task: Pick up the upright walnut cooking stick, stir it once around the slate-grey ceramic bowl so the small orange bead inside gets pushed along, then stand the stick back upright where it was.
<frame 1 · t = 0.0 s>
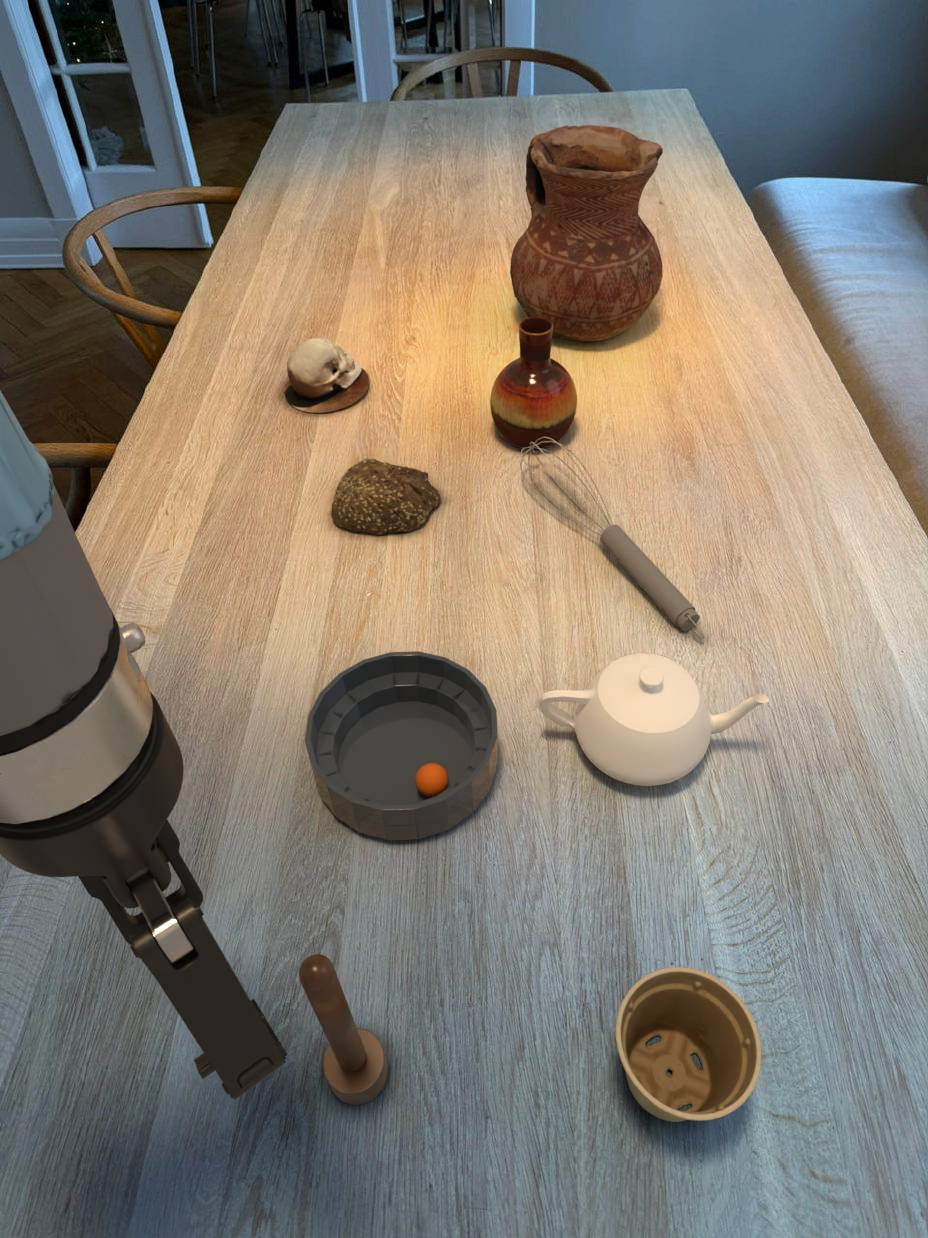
hand: (201, 959, 48), 23 cm above the table, tool pointing down, fingers open, 13 cm apart
bead: (431, 780, 79), point 2 cm above the table, touching bowl
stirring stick: (358, 1072, 65), on the table
skull: (327, 390, 125), on the table
bowl: (406, 761, 83), on the table
kitchen whisk: (607, 545, 102), on the table
flower pot: (669, 1076, 64), on the table
bread roll: (387, 504, 108), on the table
vase: (532, 433, 116), on the table
jug: (581, 321, 135), on the table
teapot: (643, 743, 84), on the table
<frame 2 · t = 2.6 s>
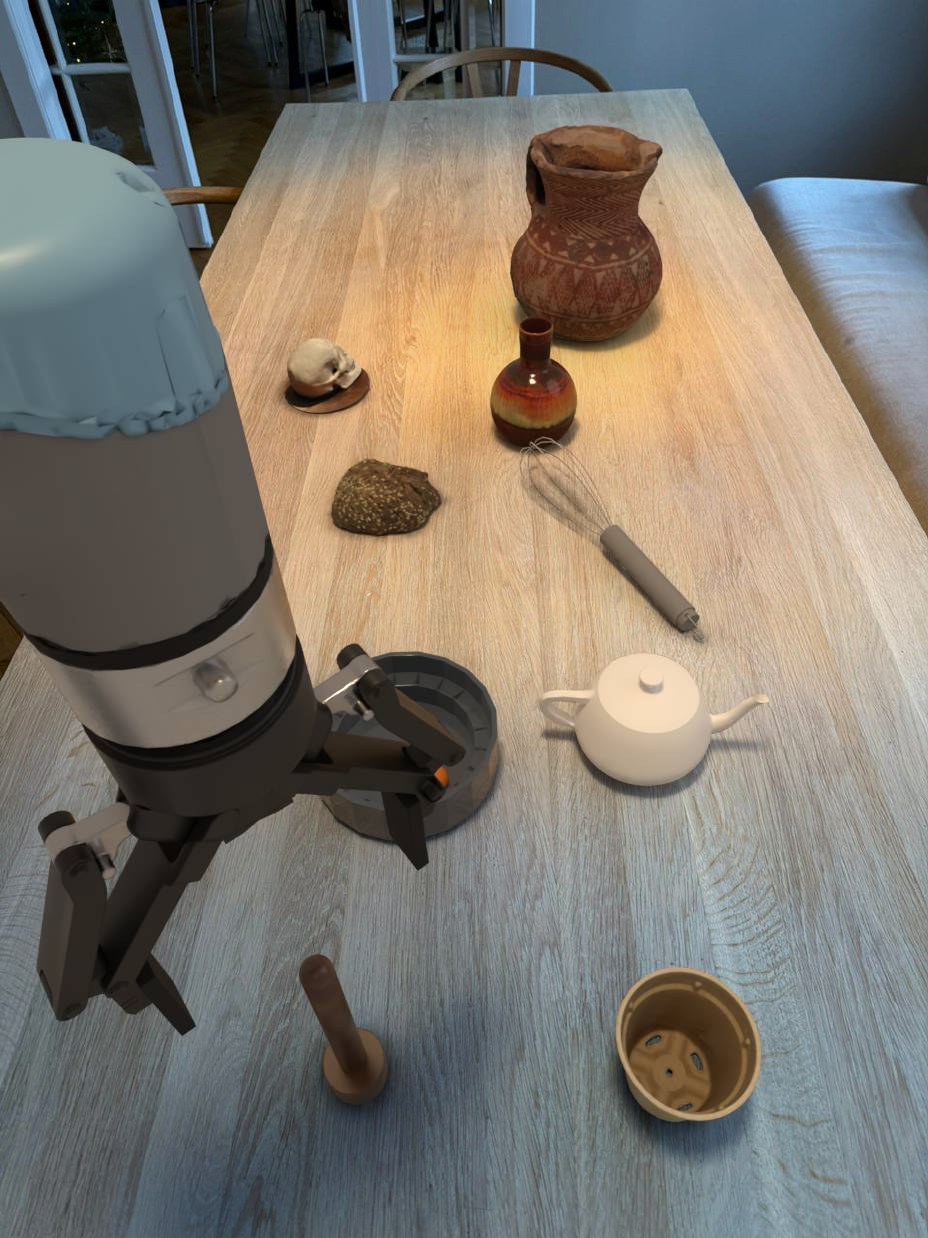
hand: (300, 924, 45), 27 cm above the table, tool pointing down, fingers open, 13 cm apart
nothing on the table moved.
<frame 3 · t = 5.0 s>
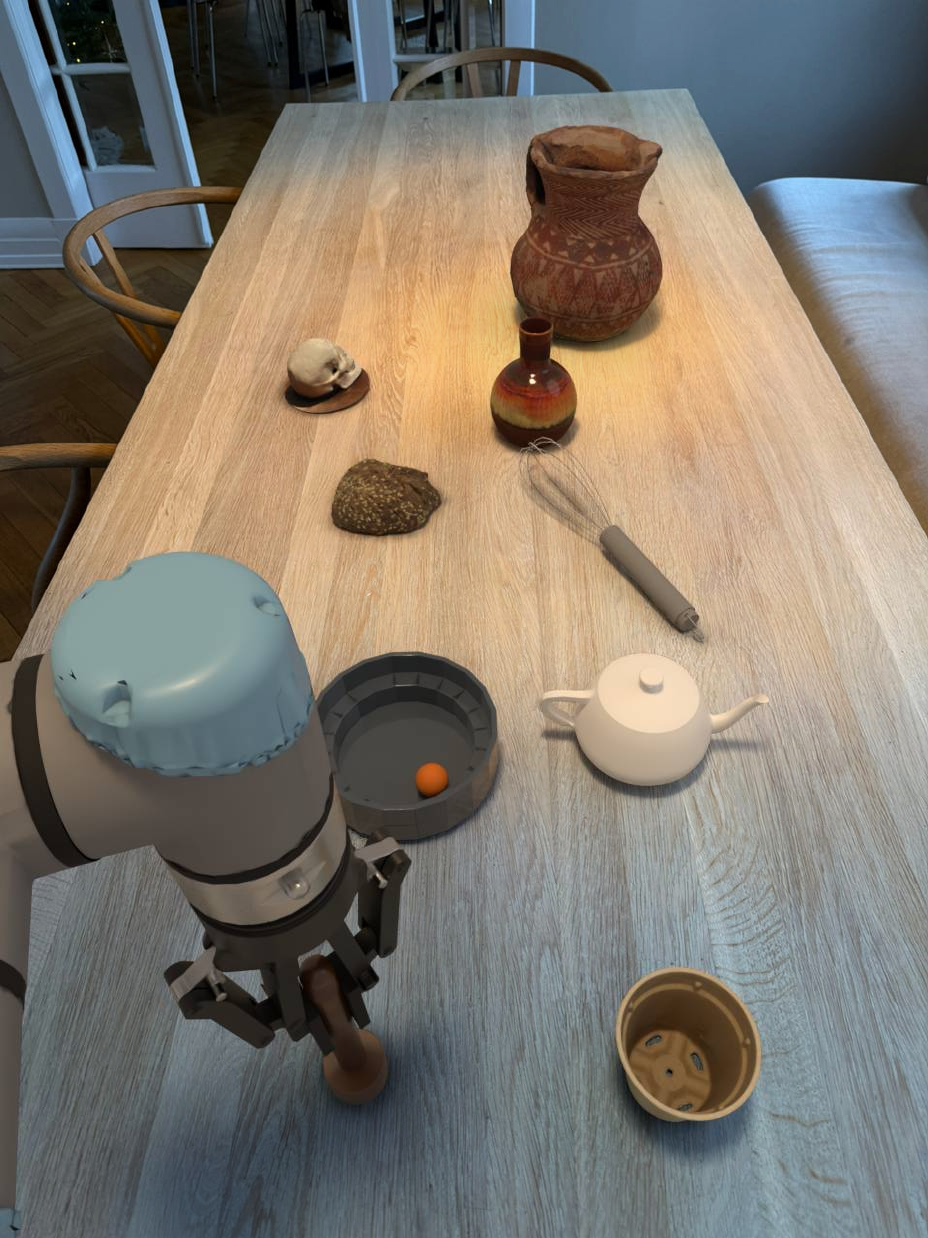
hand: (336, 1021, 56), 11 cm above the table, tool pointing down, fingers closed on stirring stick, 2 cm apart
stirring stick: (358, 1072, 65), on the table, touching gripper
everything else where it was.
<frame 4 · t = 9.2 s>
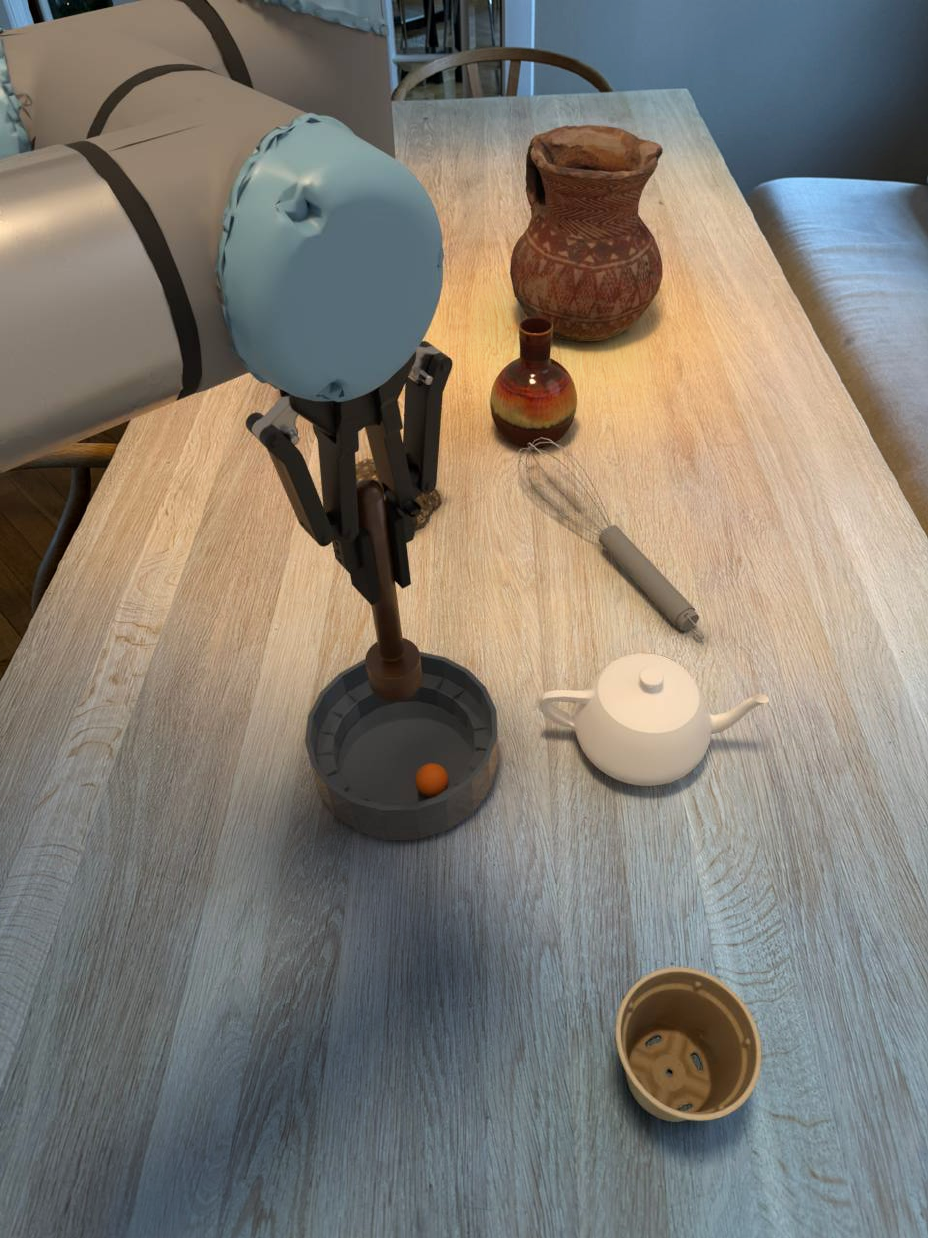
hand: (381, 583, 64), 25 cm above the table, tool pointing down, fingers closed on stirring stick, 2 cm apart
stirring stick: (396, 680, 73), point 13 cm above the table, touching gripper
everything else where it was.
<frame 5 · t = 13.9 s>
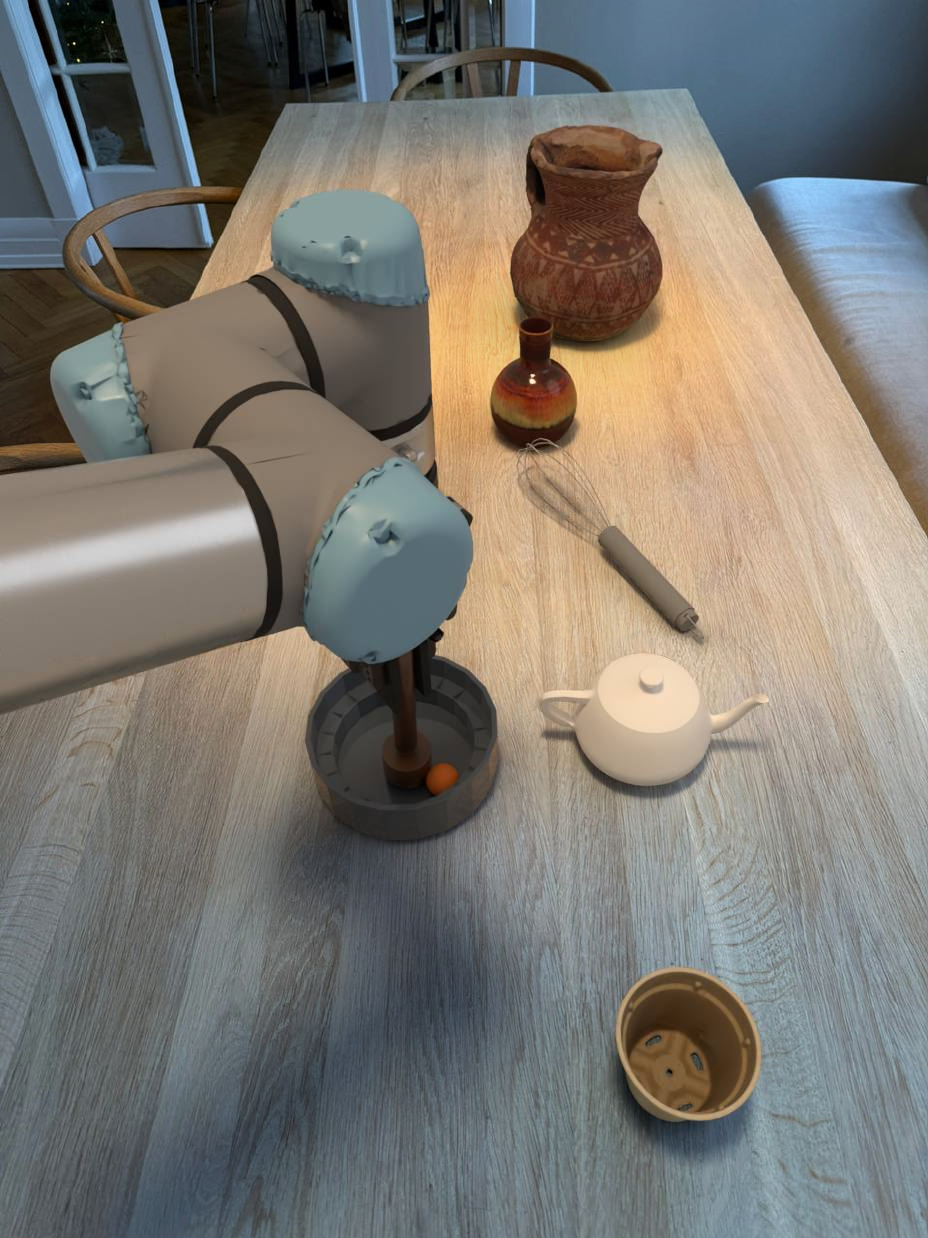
hand: (404, 692, 72), 13 cm above the table, tool pointing down, fingers closed on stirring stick, 2 cm apart
bead: (442, 780, 79), point 2 cm above the table, tilted 25°, touching bowl, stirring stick
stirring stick: (407, 767, 80), point 2 cm above the table, touching bead, gripper
everything else where it was.
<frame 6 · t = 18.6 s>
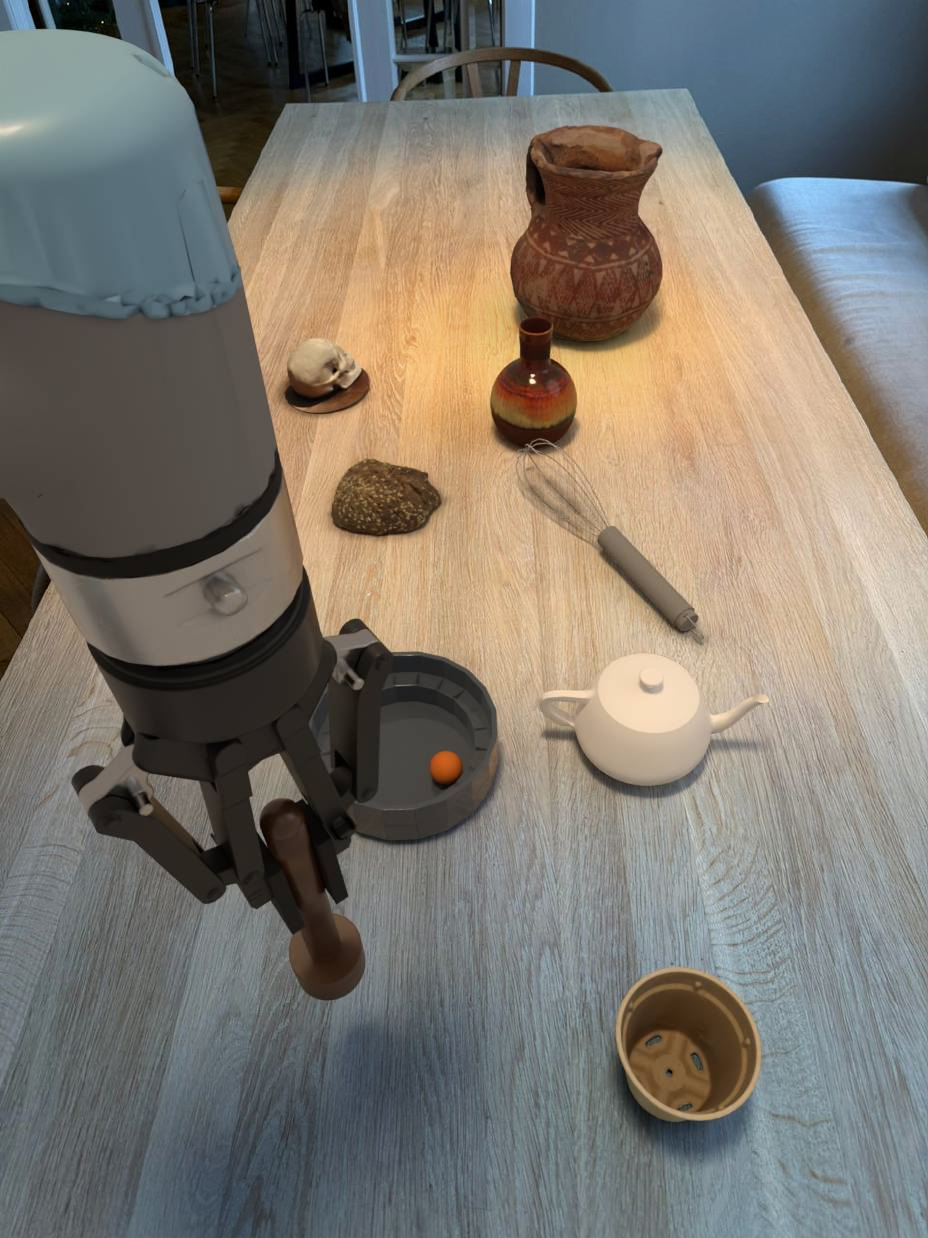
hand: (307, 895, 47), 26 cm above the table, tool pointing down, fingers closed on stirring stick, 2 cm apart
bead: (446, 767, 80), point 2 cm above the table, tilted 11°, touching bowl
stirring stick: (330, 964, 56), point 15 cm above the table, touching gripper
everything else where it was.
when the fingers open (11 cm above the table, at t = 22.0 s): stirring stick stays where it is, on the table.
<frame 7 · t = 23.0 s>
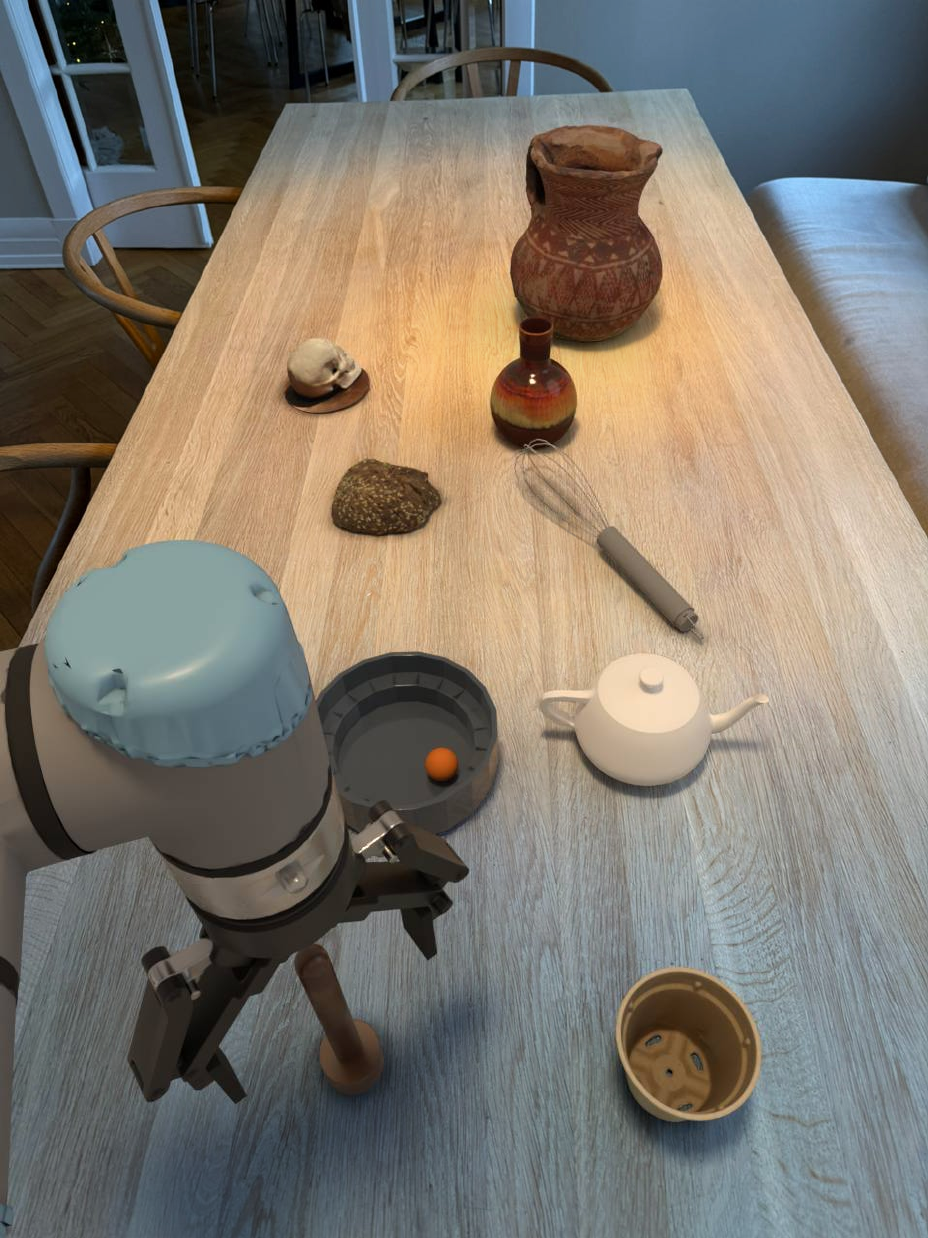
hand: (330, 1007, 54), 14 cm above the table, tool pointing down, fingers open, 13 cm apart
bead: (441, 764, 80), point 2 cm above the table, tilted 21°, touching bowl
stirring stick: (354, 1063, 65), on the table
everything else where it was.
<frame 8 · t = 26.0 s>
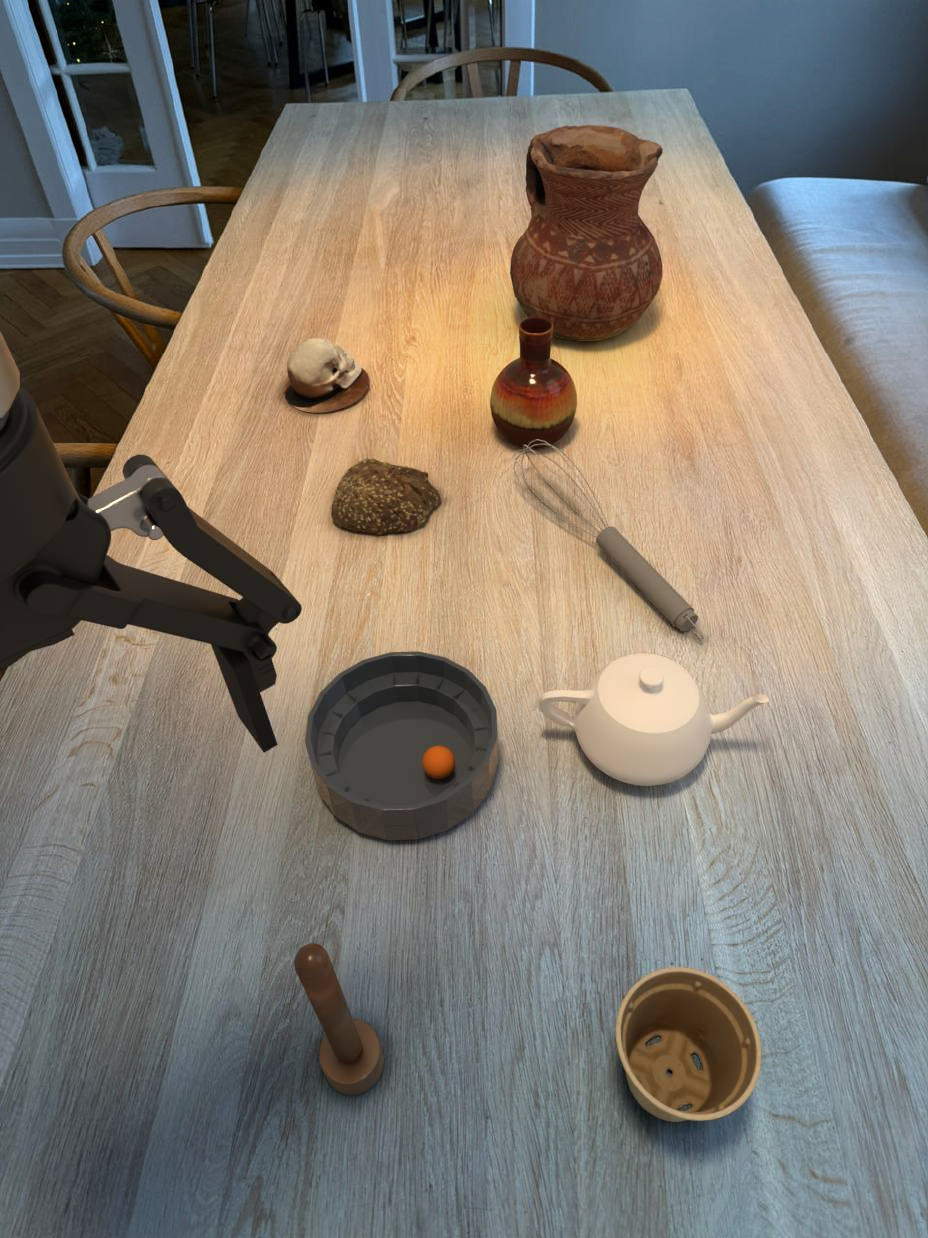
hand: (127, 806, 41), 35 cm above the table, tool pointing down, fingers open, 13 cm apart
bead: (438, 762, 80), point 2 cm above the table, tilted 34°, touching bowl
everything else where it was.
at the end: bead moved 1.9 cm from its start; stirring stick inside the target area (0.7 cm from its centre), on the table; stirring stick tilted 0° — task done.
